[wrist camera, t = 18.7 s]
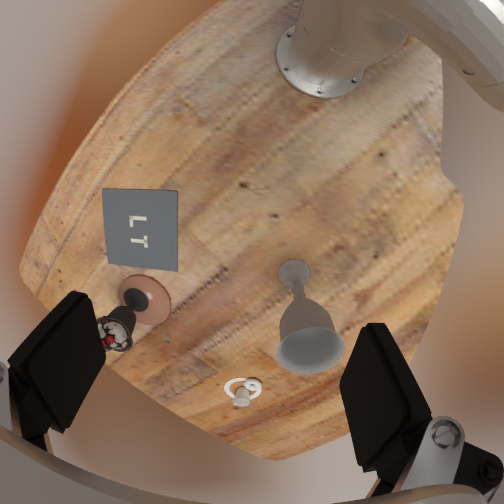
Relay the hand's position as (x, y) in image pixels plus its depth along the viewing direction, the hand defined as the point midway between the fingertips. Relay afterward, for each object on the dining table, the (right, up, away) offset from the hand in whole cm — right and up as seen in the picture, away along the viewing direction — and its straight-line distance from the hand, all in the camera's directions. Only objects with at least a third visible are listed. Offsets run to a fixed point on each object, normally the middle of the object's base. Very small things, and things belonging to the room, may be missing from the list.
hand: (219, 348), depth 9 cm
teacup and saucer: (+2, -27, +47) cm, 54 cm away
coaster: (-18, -5, +38) cm, 42 cm away
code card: (-17, +7, +33) cm, 37 cm away
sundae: (-19, -5, +37) cm, 42 cm away
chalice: (+8, 0, +35) cm, 36 cm away
